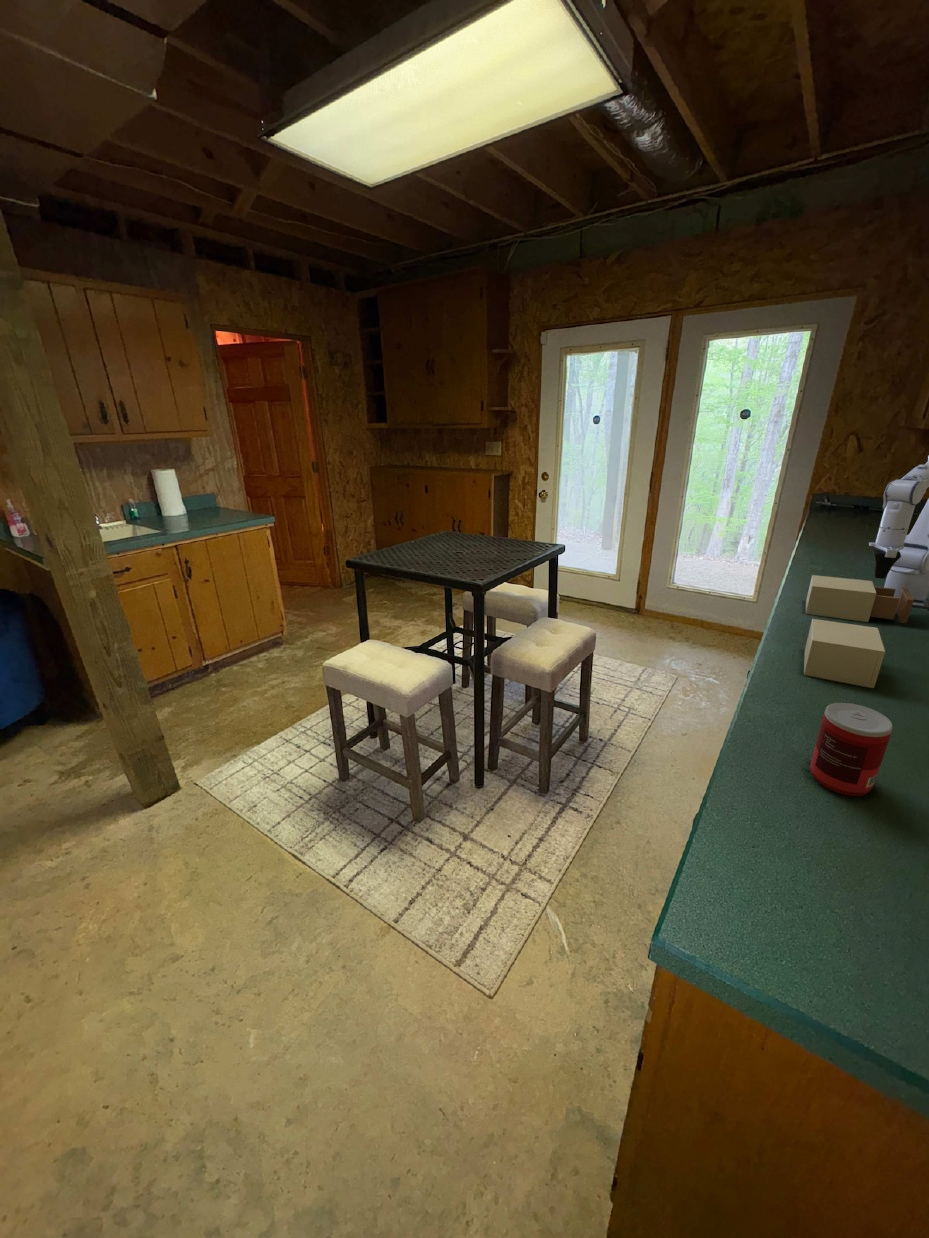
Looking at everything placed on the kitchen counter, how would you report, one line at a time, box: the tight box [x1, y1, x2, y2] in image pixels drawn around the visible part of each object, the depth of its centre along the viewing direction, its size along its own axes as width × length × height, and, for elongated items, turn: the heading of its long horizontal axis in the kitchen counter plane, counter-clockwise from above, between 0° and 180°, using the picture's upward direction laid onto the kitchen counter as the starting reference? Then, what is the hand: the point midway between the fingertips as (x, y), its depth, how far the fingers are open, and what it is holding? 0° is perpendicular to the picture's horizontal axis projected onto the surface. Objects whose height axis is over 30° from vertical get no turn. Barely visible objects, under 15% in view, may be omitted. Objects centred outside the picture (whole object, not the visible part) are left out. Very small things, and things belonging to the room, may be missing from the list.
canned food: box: [809, 702, 893, 797], centre depth 70 cm, size 8×8×11 cm
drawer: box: [870, 586, 929, 624], centre depth 127 cm, size 17×10×6 cm, turn 56°
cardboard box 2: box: [803, 618, 886, 689], centre depth 103 cm, size 14×12×8 cm
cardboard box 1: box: [805, 574, 876, 623], centre depth 133 cm, size 14×12×8 cm
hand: (879, 577), depth 130 cm, fingers closed
